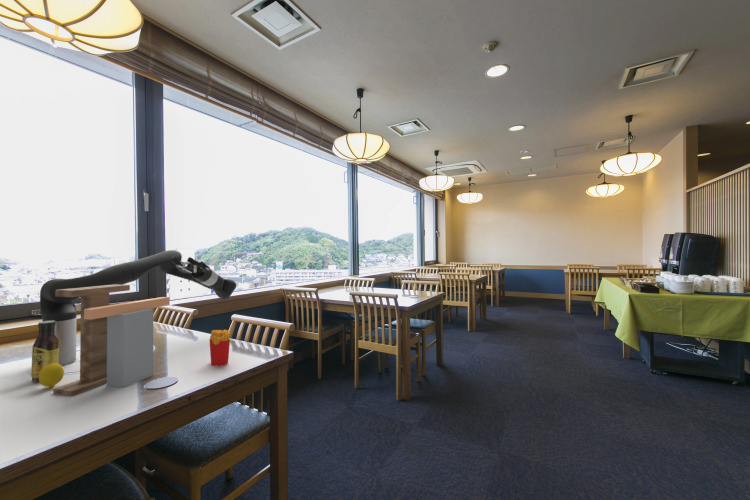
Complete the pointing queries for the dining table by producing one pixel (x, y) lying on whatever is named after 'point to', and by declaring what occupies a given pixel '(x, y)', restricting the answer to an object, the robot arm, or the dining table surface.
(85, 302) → the walnut shelf
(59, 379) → the lemon
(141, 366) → the grey rectangular block
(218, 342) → the french fries
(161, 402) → the dining table surface
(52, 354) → the sauce bottle
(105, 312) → the terracotta bar
